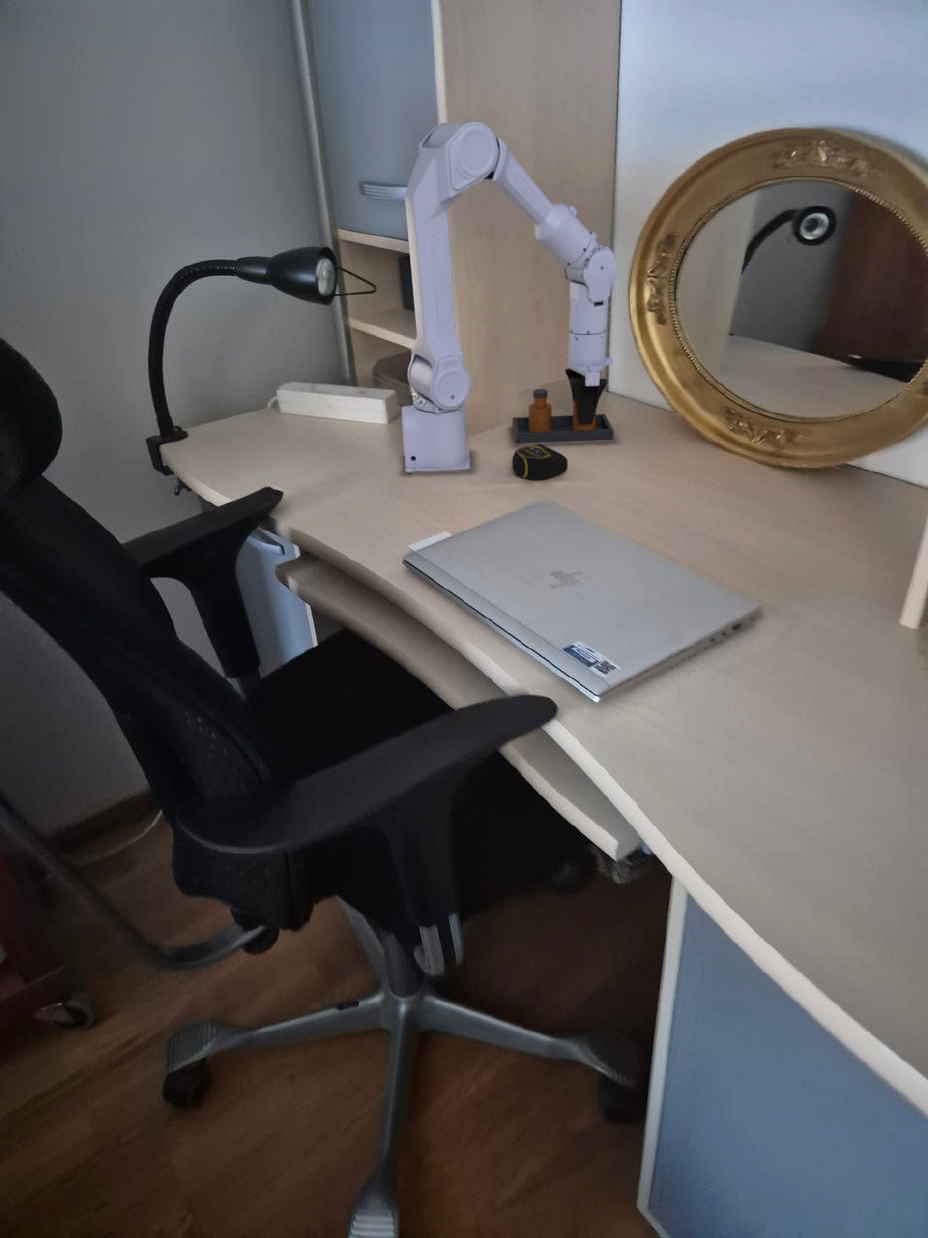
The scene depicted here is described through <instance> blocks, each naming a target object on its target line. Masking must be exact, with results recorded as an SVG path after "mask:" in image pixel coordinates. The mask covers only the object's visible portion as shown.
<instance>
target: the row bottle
mask: <svg viewBox="0 0 928 1238" xmlns="http://www.w3.org/2000/svg"><path fill="white" fill-rule="evenodd" d="M548 392H549V391H548V390H547V389H545V388H536V389H533V391H532V397H533V403H530V404H529V405H528V417H529V432H551V416H552V405H551V404H550V403H548V402H547V401H548V400H547V399H548V398H547V397H548V394H549V393H548Z"/></svg>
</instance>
